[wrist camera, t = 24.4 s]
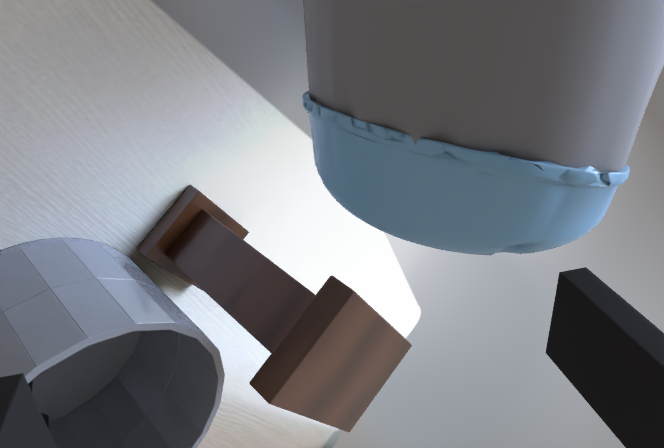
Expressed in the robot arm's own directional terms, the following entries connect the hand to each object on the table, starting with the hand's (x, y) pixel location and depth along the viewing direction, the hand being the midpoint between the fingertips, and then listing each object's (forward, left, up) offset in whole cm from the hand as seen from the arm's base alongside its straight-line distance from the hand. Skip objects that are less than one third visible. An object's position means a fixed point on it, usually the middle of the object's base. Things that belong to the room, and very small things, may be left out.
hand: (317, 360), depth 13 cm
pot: (+10, +20, -30) cm, 37 cm away
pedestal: (-4, +21, -30) cm, 37 cm away
